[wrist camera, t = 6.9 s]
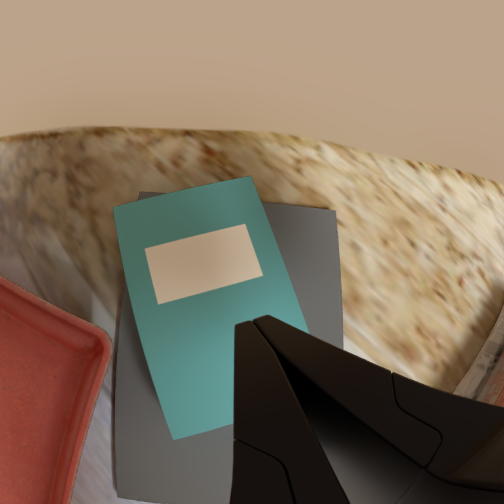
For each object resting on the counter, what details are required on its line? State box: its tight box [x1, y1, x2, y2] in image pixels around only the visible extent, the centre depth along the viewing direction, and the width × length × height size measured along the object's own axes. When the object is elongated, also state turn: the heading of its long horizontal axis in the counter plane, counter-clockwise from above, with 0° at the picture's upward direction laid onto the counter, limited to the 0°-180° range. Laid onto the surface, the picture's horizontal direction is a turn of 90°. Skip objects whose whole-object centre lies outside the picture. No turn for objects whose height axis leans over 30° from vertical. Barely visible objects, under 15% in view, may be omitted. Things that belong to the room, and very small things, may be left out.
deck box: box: [113, 176, 309, 440], centre depth 14 cm, size 3×6×10 cm
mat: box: [115, 192, 343, 504], centre depth 15 cm, size 16×11×1 cm
